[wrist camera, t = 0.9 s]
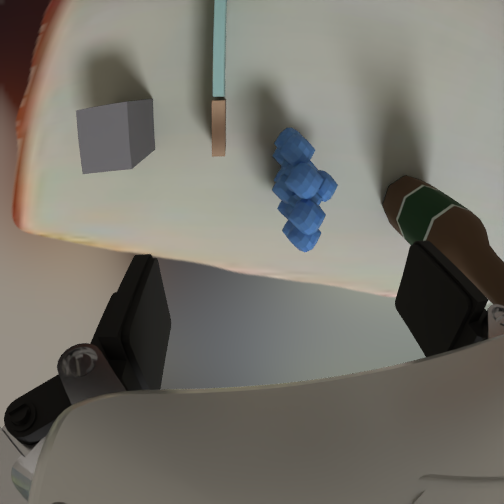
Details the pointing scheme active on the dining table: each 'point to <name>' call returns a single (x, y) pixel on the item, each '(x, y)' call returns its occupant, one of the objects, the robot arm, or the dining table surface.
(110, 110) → the doorstop block
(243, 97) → the dining table surface
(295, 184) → the grapes
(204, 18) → the dining table surface
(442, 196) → the beer bottle
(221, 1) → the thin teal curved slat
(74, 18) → the dining table surface
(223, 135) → the brown wooden block
